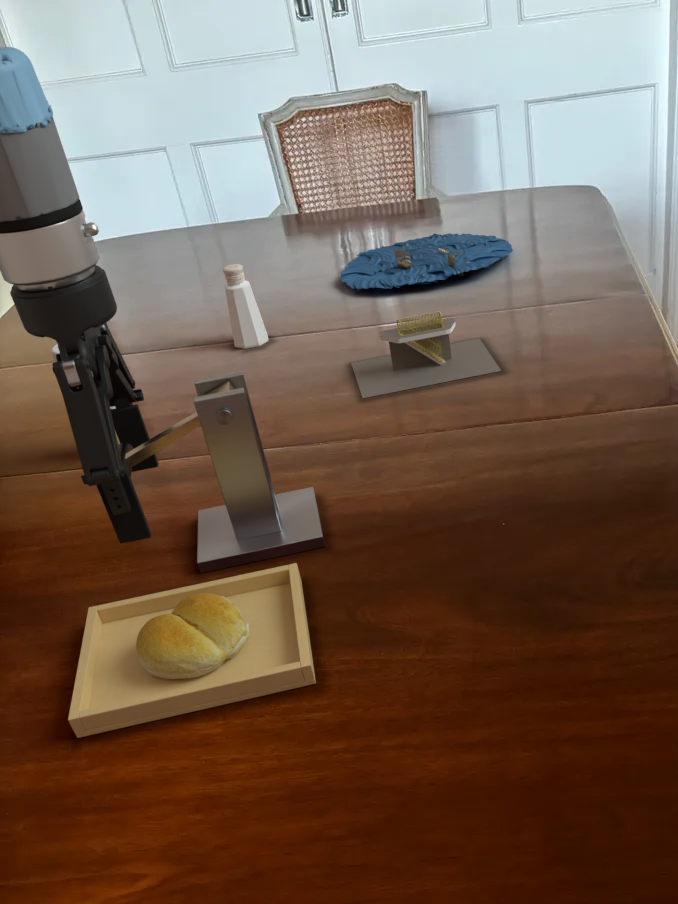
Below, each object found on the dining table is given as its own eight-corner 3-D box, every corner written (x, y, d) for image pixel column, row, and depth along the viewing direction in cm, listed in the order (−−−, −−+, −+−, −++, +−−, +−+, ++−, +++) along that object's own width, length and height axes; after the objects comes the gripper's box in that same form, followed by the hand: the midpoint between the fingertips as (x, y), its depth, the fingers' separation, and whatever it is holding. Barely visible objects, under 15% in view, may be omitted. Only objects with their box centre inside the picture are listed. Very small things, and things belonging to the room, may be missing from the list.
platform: (501, 370, 114) (497, 320, 110) (362, 398, 112) (353, 348, 108) (479, 338, 123) (474, 290, 119) (350, 363, 121) (341, 315, 117)
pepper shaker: (259, 331, 135) (241, 257, 128) (276, 340, 131) (258, 264, 125) (227, 343, 133) (206, 268, 126) (243, 352, 129) (222, 275, 122)
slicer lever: (121, 492, 81) (103, 472, 79) (126, 464, 85) (109, 445, 84) (245, 419, 79) (229, 397, 78) (243, 394, 84) (228, 373, 82)
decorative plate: (304, 286, 154) (296, 255, 151) (433, 235, 168) (429, 206, 165) (413, 312, 134) (407, 277, 131) (549, 251, 148) (546, 219, 145)
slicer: (200, 573, 85) (147, 422, 75) (201, 520, 93) (153, 376, 83) (325, 546, 86) (288, 394, 76) (315, 496, 94) (281, 352, 84)
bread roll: (125, 657, 75) (109, 621, 73) (215, 605, 80) (203, 568, 77) (175, 701, 70) (159, 663, 68) (268, 642, 75) (256, 604, 72)
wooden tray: (77, 738, 69) (67, 720, 67) (96, 624, 80) (88, 607, 79) (316, 683, 71) (310, 665, 69) (301, 580, 82) (296, 562, 81)
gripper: (85, 317, 62) (176, 564, 75) (115, 227, 82) (183, 436, 95) (-25, 337, 62) (85, 583, 74) (32, 242, 81) (112, 450, 94)
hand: (140, 501), depth 85 cm, fingers open, 13 cm apart
